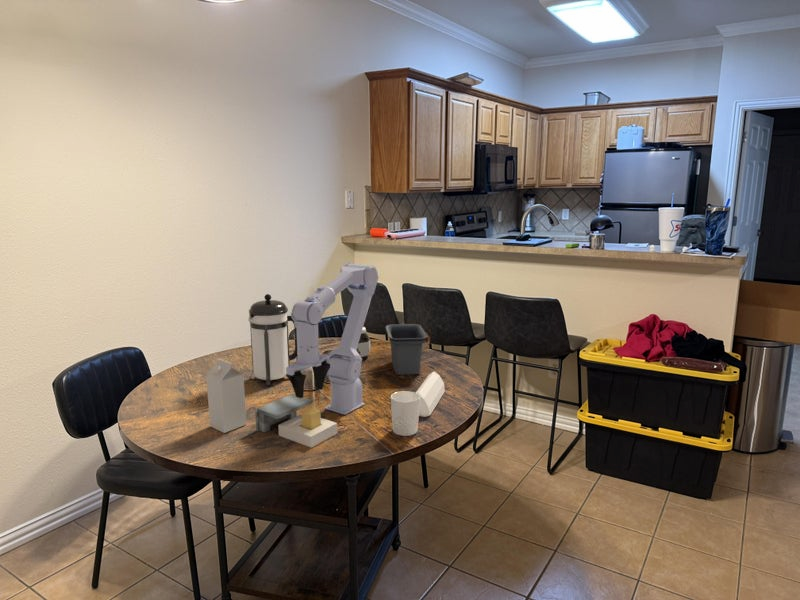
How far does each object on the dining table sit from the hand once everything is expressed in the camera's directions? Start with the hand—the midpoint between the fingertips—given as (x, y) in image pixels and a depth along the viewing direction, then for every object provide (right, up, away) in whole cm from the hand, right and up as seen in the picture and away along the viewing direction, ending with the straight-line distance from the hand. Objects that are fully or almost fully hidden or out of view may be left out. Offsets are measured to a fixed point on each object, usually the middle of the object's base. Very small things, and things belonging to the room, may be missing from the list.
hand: (309, 392), depth 148 cm
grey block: (-7, -10, +2) cm, 12 cm away
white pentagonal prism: (+33, -7, +19) cm, 39 cm away
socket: (0, -11, -3) cm, 11 cm away
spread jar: (+7, +2, +62) cm, 62 cm away
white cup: (+26, -11, 0) cm, 28 cm away
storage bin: (+28, 0, +51) cm, 58 cm away
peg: (+1, -11, -4) cm, 12 cm away
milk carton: (-23, -10, +2) cm, 25 cm away
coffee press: (-19, -2, +40) cm, 45 cm away
